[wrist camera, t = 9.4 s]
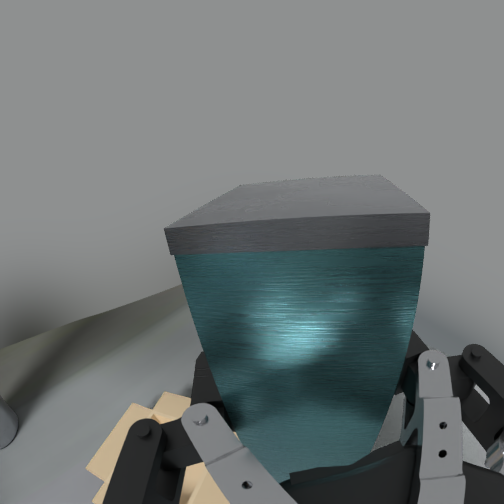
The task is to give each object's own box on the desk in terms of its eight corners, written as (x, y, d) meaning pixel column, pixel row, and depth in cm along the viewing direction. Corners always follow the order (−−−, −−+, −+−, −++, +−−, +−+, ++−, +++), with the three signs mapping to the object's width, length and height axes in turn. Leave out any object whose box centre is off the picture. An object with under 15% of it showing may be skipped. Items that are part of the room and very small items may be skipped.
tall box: (264, 494, 12) (164, 228, 5) (282, 435, 16) (240, 185, 10) (344, 500, 10) (429, 213, 4) (352, 438, 14) (380, 174, 8)
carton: (91, 498, 14) (72, 486, 13) (155, 402, 29) (144, 385, 28) (217, 559, 10) (205, 559, 8) (268, 427, 24) (264, 411, 23)
